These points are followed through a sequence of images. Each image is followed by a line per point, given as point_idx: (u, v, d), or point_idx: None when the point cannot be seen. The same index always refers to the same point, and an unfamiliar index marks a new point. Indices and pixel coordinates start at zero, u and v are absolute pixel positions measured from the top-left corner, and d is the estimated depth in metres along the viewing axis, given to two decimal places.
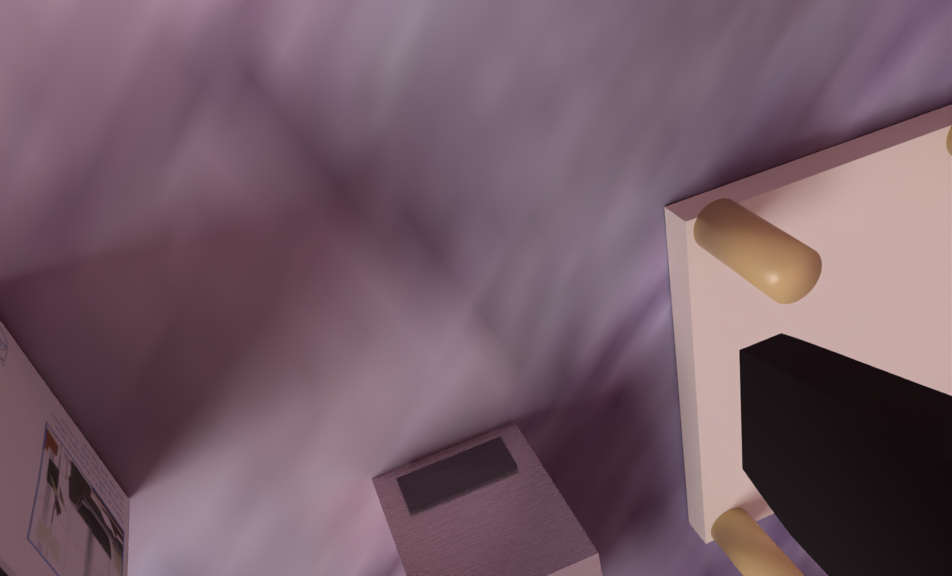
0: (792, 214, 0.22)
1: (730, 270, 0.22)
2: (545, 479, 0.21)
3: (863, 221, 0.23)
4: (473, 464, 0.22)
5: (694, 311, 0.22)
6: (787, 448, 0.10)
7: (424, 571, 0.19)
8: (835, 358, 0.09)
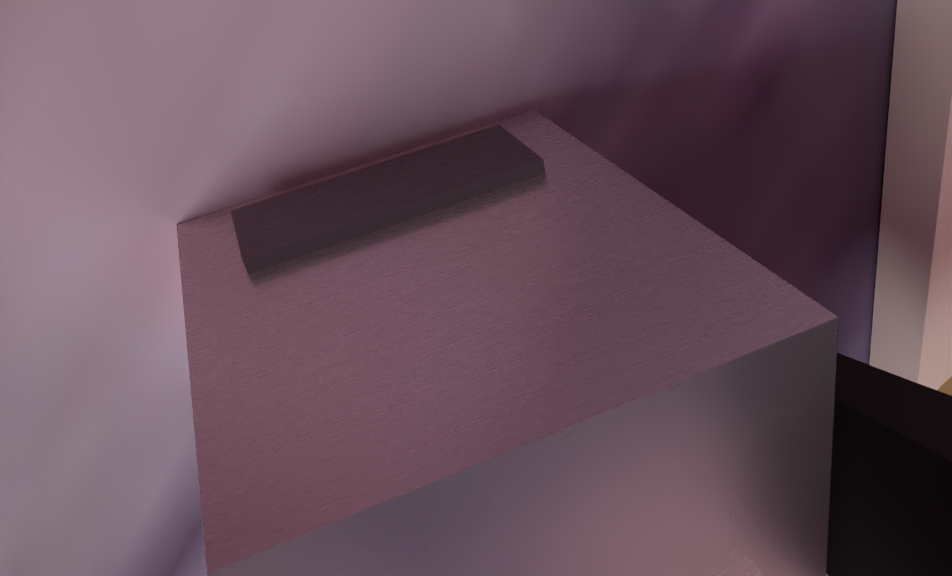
0: None
1: None
2: (623, 183, 0.08)
3: None
4: (430, 170, 0.08)
5: None
6: None
7: (250, 399, 0.06)
8: None
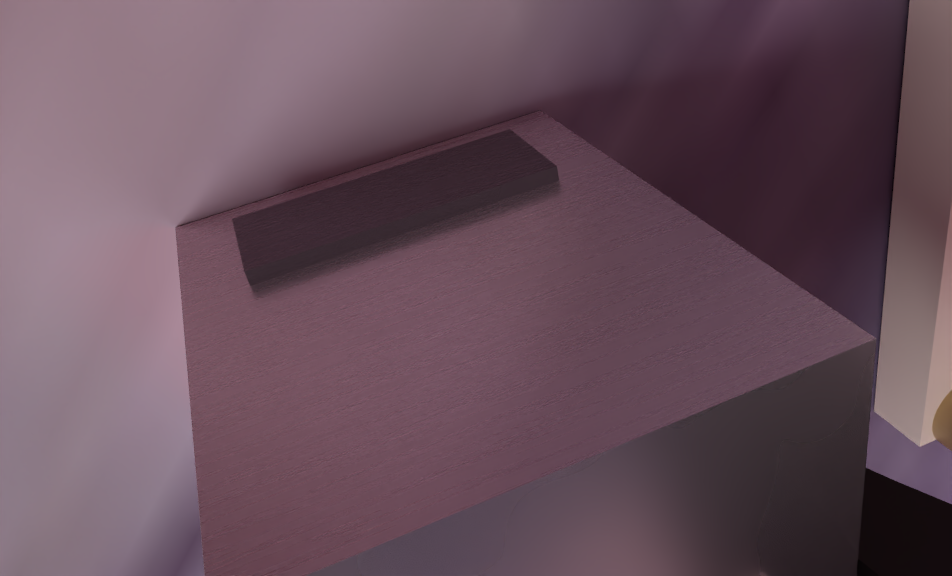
0: None
1: None
2: (641, 192, 0.07)
3: None
4: (439, 177, 0.08)
5: None
6: None
7: (255, 420, 0.06)
8: None
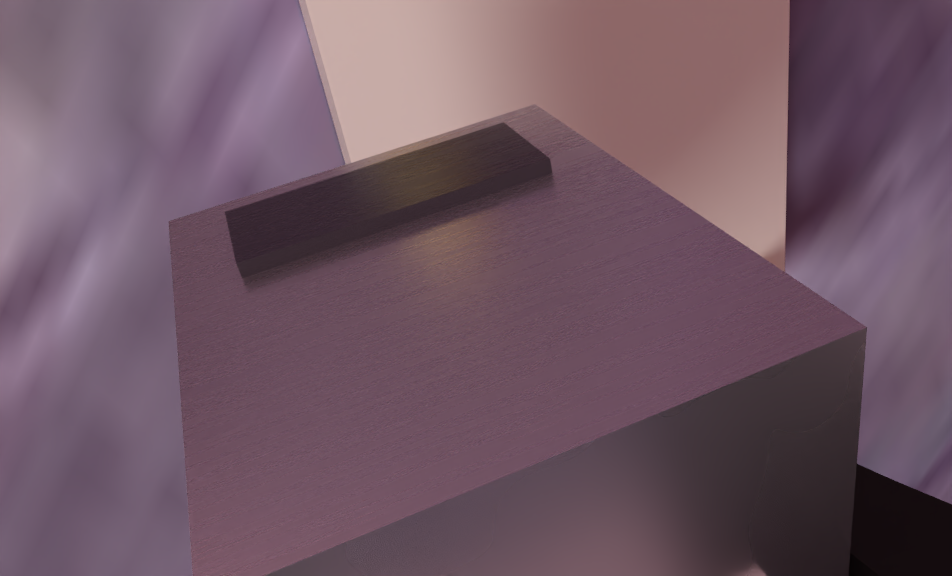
0: None
1: None
2: (634, 184, 0.07)
3: None
4: (432, 169, 0.08)
5: (317, 18, 0.14)
6: None
7: (244, 411, 0.06)
8: None
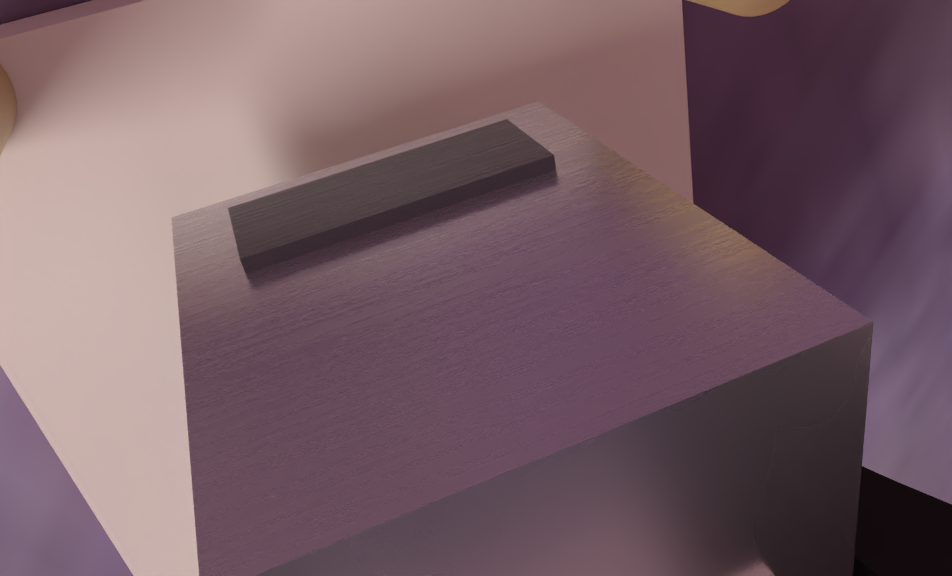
0: (172, 85, 0.09)
1: (42, 216, 0.09)
2: (638, 181, 0.07)
3: (390, 112, 0.10)
4: (435, 166, 0.08)
5: None
6: None
7: (249, 406, 0.06)
8: None
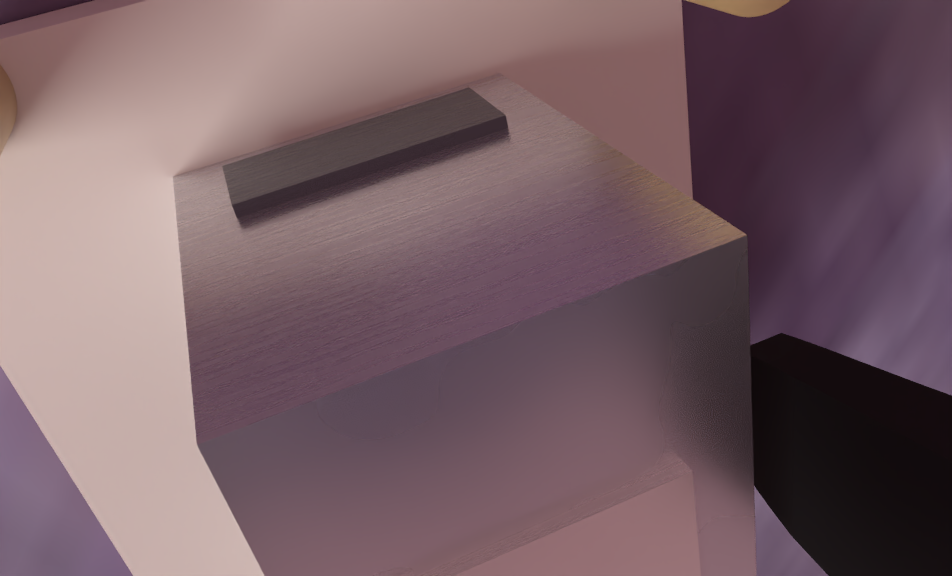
0: (172, 86, 0.09)
1: (42, 216, 0.09)
2: (576, 135, 0.08)
3: None
4: (403, 127, 0.09)
5: None
6: (787, 448, 0.10)
7: (238, 315, 0.07)
8: (835, 358, 0.09)
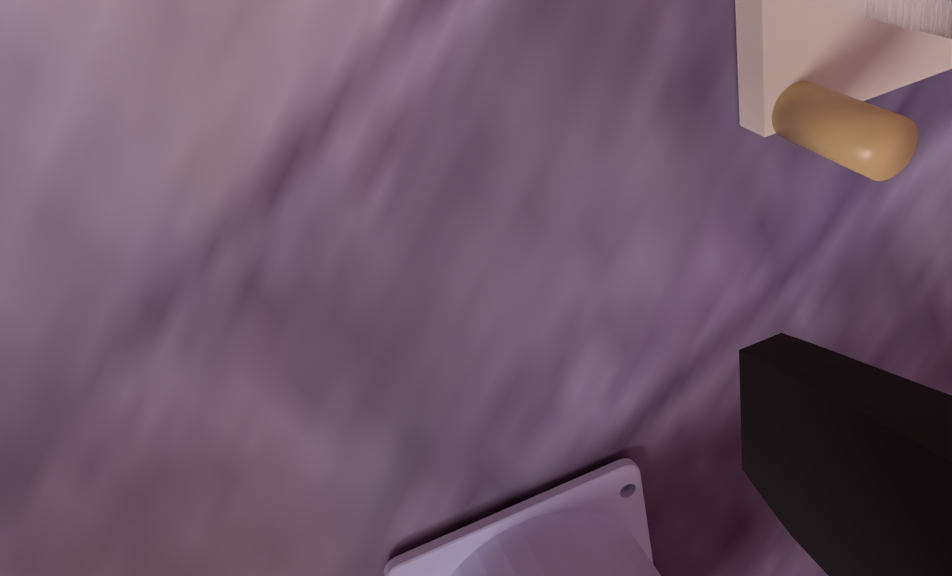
0: None
1: None
2: None
3: None
4: None
5: None
6: (787, 448, 0.10)
7: None
8: (835, 358, 0.09)
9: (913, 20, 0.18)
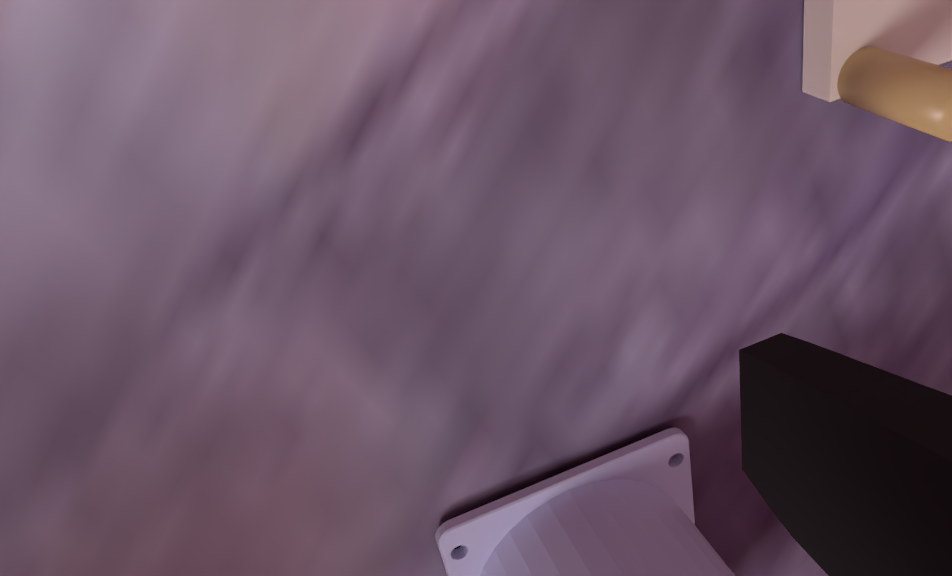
0: None
1: None
2: None
3: None
4: None
5: None
6: (787, 448, 0.10)
7: None
8: (835, 358, 0.09)
9: None
